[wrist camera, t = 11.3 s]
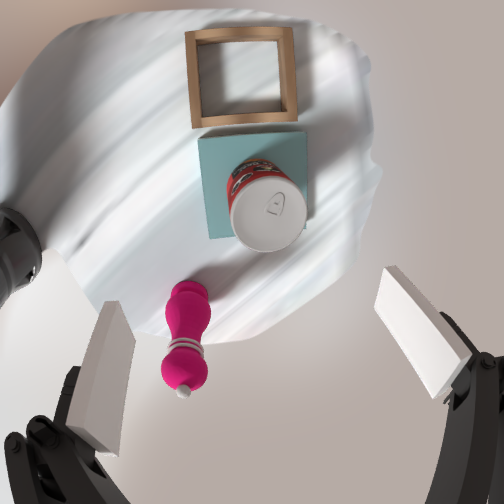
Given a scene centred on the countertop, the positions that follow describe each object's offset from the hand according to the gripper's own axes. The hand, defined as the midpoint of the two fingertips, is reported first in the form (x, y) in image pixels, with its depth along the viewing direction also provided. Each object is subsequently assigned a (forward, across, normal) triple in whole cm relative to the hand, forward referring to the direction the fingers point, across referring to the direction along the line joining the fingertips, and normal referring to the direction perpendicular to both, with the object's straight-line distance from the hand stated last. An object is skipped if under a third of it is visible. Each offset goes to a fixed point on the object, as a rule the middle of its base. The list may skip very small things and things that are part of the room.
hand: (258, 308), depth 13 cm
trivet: (+28, -4, +2) cm, 28 cm away
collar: (+28, -3, -13) cm, 31 cm away
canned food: (+26, -4, +2) cm, 26 cm away
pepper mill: (+28, +8, +20) cm, 35 cm away
